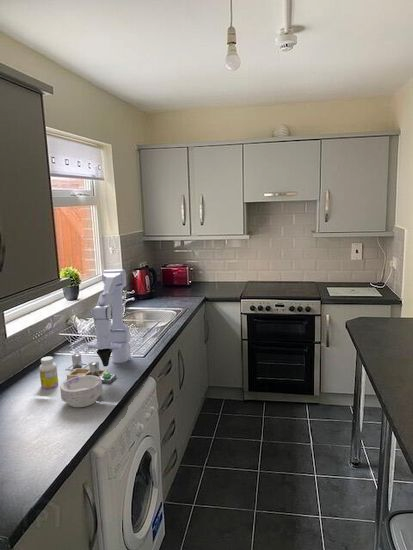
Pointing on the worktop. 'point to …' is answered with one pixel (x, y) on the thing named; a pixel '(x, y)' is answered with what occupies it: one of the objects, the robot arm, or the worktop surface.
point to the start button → (106, 375)
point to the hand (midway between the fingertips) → (106, 365)
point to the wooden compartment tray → (82, 373)
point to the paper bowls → (81, 390)
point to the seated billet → (94, 368)
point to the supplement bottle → (48, 373)
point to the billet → (76, 361)
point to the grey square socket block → (105, 380)
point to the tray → (74, 369)
